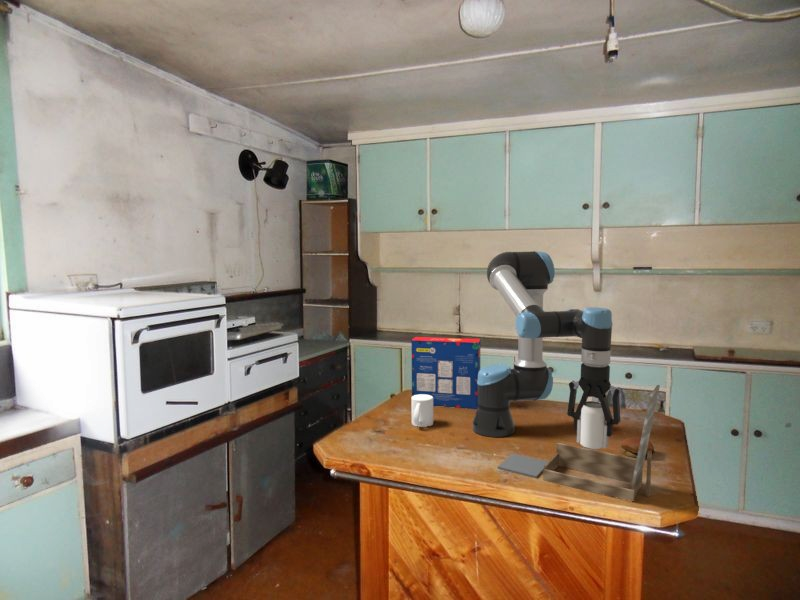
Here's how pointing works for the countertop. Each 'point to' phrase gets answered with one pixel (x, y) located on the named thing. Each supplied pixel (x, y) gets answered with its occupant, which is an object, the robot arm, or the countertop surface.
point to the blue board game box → (446, 370)
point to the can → (592, 425)
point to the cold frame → (605, 464)
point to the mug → (422, 410)
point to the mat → (523, 465)
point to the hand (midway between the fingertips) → (592, 443)
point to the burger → (634, 447)
